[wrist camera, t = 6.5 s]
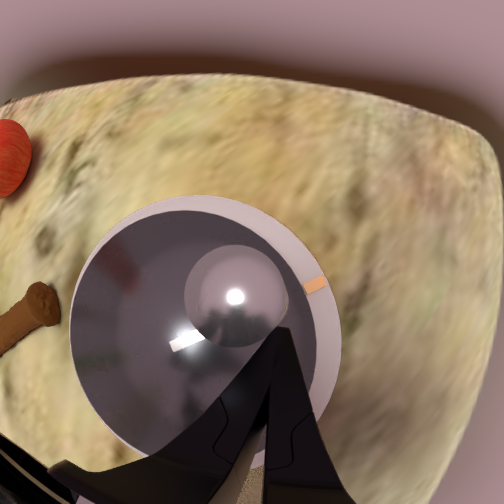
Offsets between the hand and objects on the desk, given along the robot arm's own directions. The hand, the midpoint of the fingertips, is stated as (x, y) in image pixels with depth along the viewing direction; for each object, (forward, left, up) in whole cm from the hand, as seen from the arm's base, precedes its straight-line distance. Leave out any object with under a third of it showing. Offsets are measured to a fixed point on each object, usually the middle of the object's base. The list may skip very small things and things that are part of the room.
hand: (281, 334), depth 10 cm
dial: (+1, +6, -6) cm, 8 cm away
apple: (+23, +19, -7) cm, 31 cm away
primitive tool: (+7, +25, -8) cm, 27 cm away
